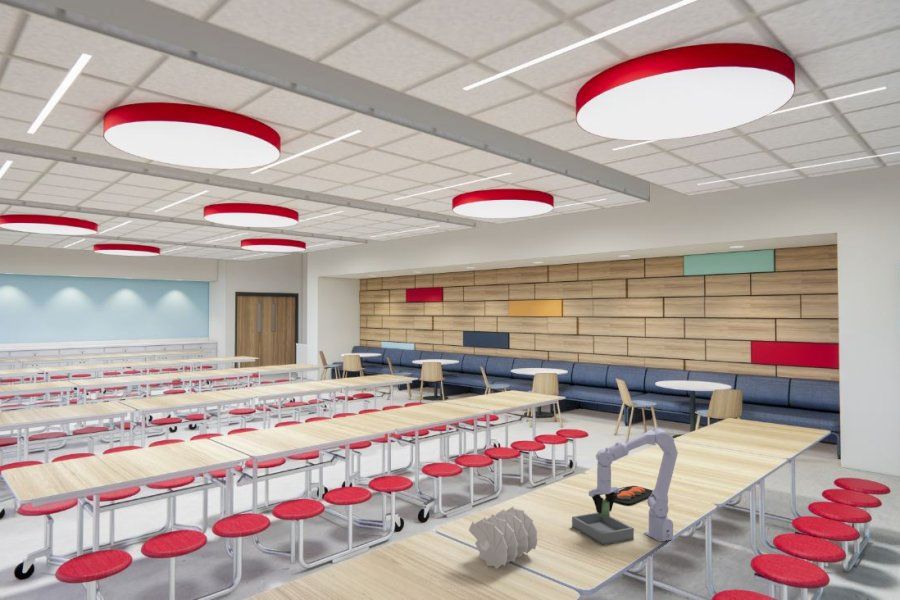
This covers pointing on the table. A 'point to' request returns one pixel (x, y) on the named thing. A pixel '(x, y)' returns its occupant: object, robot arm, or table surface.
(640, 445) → the robot arm
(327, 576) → the table surface
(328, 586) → the table surface
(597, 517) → the bin
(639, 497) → the sushi plate
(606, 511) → the green rounded tapered piece
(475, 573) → the table surface
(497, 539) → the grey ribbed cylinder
